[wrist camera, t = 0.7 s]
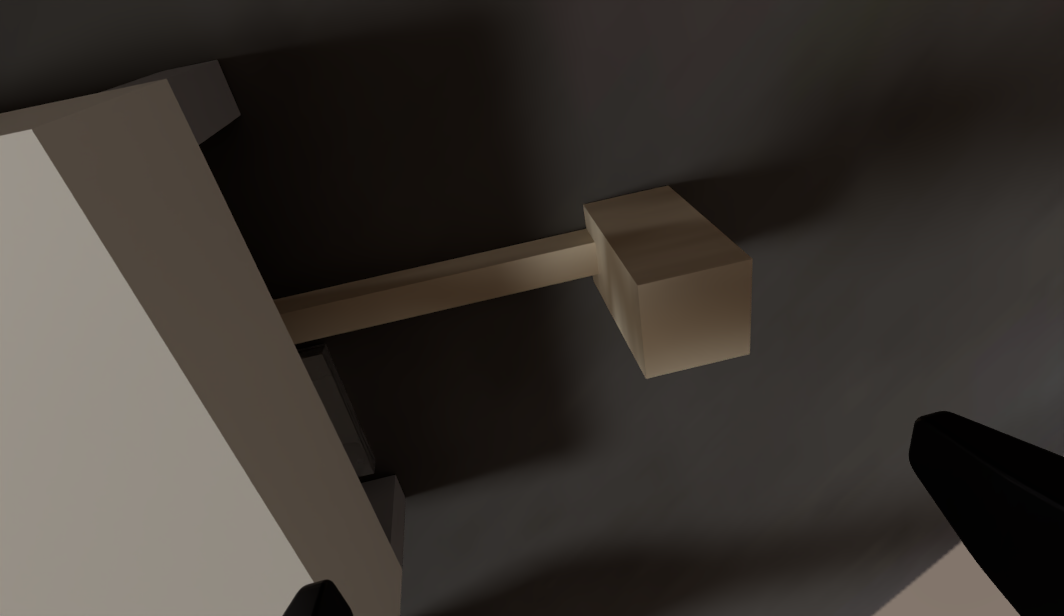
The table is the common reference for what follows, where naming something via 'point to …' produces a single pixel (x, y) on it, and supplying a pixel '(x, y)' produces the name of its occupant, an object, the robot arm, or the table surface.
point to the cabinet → (160, 382)
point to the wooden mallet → (600, 250)
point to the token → (338, 407)
